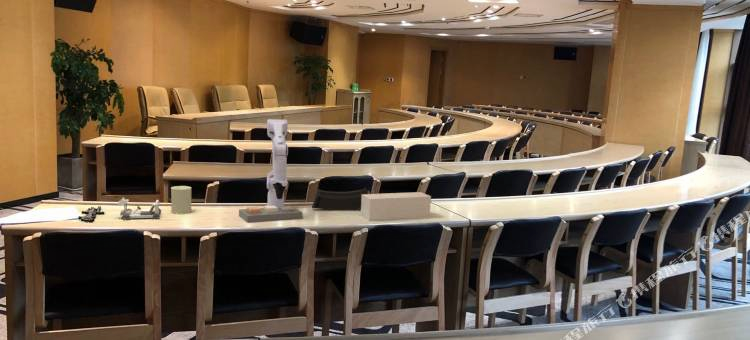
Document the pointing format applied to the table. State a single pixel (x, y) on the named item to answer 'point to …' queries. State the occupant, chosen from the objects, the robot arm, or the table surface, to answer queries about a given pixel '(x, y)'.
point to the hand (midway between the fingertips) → (279, 198)
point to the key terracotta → (253, 210)
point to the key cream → (270, 209)
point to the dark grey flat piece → (91, 214)
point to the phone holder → (140, 214)
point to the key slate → (286, 209)
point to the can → (181, 199)
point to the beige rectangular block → (395, 206)
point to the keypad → (270, 215)
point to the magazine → (339, 200)
